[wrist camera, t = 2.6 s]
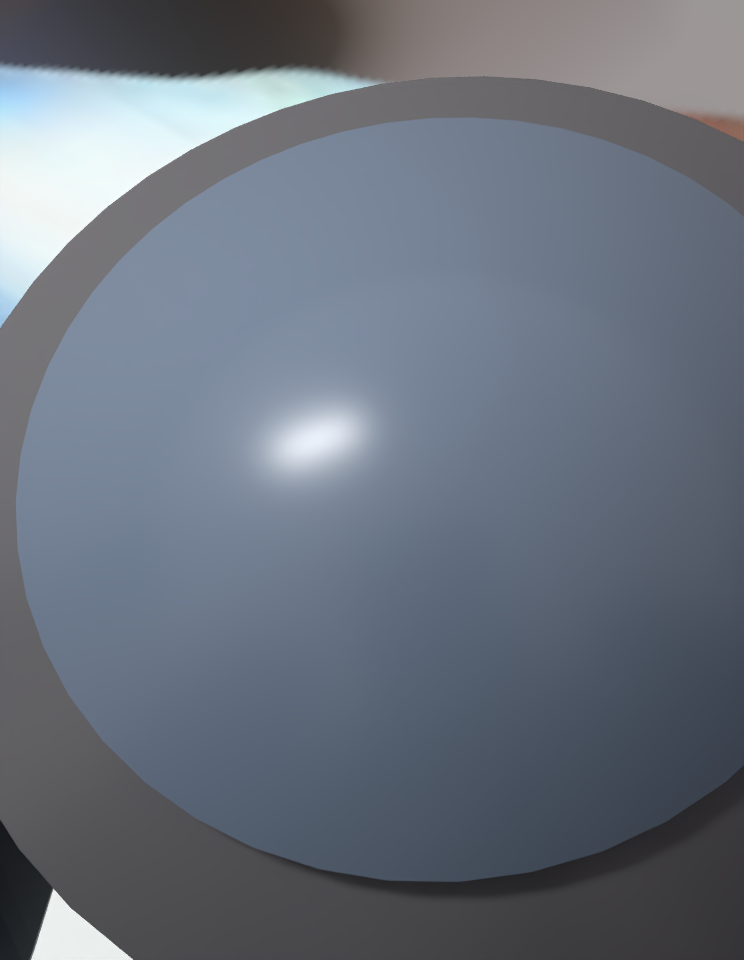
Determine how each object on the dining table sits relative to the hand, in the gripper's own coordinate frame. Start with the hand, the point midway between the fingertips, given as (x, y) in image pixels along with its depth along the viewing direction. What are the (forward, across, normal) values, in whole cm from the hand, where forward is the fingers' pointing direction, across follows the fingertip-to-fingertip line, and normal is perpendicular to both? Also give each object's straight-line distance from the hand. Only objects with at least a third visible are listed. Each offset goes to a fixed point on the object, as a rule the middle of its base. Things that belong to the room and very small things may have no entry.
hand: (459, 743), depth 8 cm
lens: (+7, 0, +6) cm, 9 cm away
